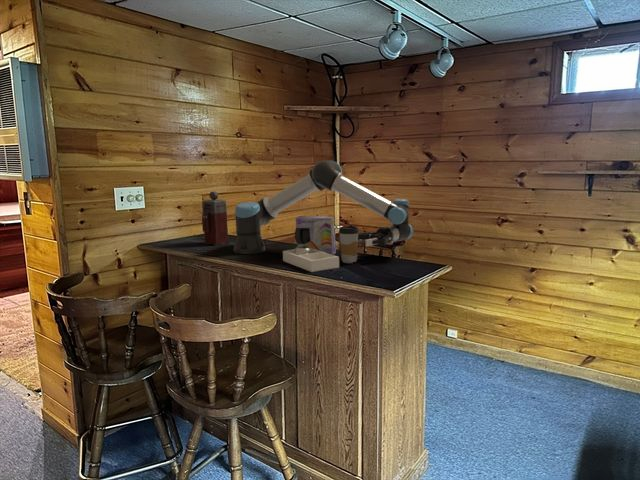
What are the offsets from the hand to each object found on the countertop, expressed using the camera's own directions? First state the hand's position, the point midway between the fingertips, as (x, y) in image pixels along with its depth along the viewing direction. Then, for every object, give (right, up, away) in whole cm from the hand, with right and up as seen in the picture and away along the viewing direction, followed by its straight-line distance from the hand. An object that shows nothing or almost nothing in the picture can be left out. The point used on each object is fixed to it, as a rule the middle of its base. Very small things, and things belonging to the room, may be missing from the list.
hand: (354, 241), depth 206 cm
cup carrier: (-19, -10, -3) cm, 22 cm away
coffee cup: (-2, -9, 0) cm, 9 cm away
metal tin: (-22, -8, +2) cm, 24 cm away
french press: (-71, -2, +49) cm, 86 cm away
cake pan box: (-17, -6, +18) cm, 26 cm away
